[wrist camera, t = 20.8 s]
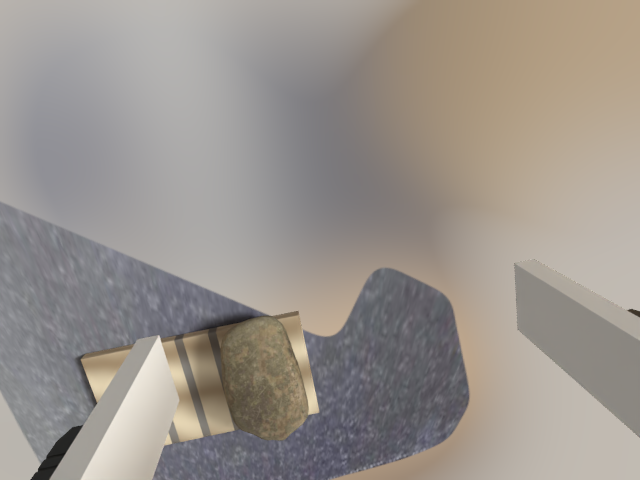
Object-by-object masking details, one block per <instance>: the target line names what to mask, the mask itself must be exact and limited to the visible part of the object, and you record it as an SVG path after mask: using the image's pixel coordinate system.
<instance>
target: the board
mask: <svg viewBox="0 0 640 480" xmlns="http://www.w3.org/2000/svg"><path fill="white" fill-rule="evenodd" d="M272 317H274V318H276V319H277V320H279V321H280V322H281V323H282V325H283V326H284V328H285V330H286V332H287V335H288V337H289V340H290V342H291V345H292V349H293V352H294V354H295V357H296V359H297V361H298V365H299V368H300V371H301V375H302V379H303V382H304V387H305V391H306V395H307V399H308V406H309V412H308V415H309V414H314V413H319V408H318V403H317V398H316V393H315V388H314V383H313V379H312V374H311V369H310V364H309V360H308V355H307V350H306V345H305V340H304V336H303V331H302V326H301V321H300V316H299V312H298V311H296V312H290V313H285V314H281V315H276V316H272ZM237 324H239V323H236V324H231V325H226V326H221V327H216V328H211V329H206V330H201V331H196V332H192V333H187V334H182V335H177V336H172V337H167V338H162V339H160V340H161V343H162V346H163V349H164V352H165V356H166V359H167V362H168V365H169V368H170V371H171V375H172V378H173V381H174V384H175V387H176V390H177V394H178V397H179V403H178V406H177V409H176V412H175V415H174V418H173V421H172V424H171V426H170V429H169V432H168V435H167V438H166V441H165V444H164V445H169V444H173V443H178V442H183V441H187V440H192V439H197V438H201V437H206V436H211V435H216V434H220V433H225V432H230V431H234V430H239V428H238V427H237V426H236V424H235V423H234V421H233V419H232V416H231V413H230V410H229V408H228V405H227V401H226V397H225V392H224V387H223V380H222V367H221V352H220V349H221V343H222V339H223V337H224V335H225V334H226V332H227V331H228V330H229V329H231V328H232V327H234V326H235V325H237ZM133 346H134V344H132V345H127V346H122V347H118V348H113V349H108V350H103V351H98V352H93V353H88V354H85V355H84V356H83V357H82V358H81V362H82V364H83V367H84V370H85V372H86V375H87V377H88V380H89V383H90V385H91V388H92V391H93V393H94V396H95V399H96V401H97V403H98V402H99V400H100V398H101V397H102V395H103V394H104V392H105V390H106V389H107V387H108V386H109V384H110V382H111V381H112V379H113V378H114V376H115V374H116V373H117V371H118V370H119V368H120V367H121V365H122V363H123V362H124V360H125V359H126V357H127V355H128V354H129V352H130V351H131V349H132V347H133Z"/></svg>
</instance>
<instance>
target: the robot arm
mask: <svg viewBox="0 0 640 480" xmlns="http://www.w3.org/2000/svg"><path fill="white" fill-rule="evenodd" d="M514 266H515V285H516V305H517V324H518V325H517V326H518V330H519V331H520V332H521V333H522V334H523V335H525V336H526V337H527V338H528V339H529V340H530V341H531V342H532V343H534V344H535V345H536V346H537V347H538V348H539V349H540V350H541V351H542V352H544V353H545V354H546V355H547V356H548V357H549V358H550V359H552V360H553V361H554V362H555V363H556V364H557V365H558V366H559V367H561V368H562V369H563V370H564V371H565V372H566V373H568V375H570V376H571V377H572V378H573V379H574V380H575V381H576V382H578V383H579V384H580V385H581V386H582V387H583V388H584V389H586V390H587V391H588V392H589V393H590V394H591V395H592V396H594V398H596V399H597V400H598V401H599V402H600V403H601V404H602V405H603V406H605V407H606V408H607V409H608V410H609V411H610V412H611V413H612V414H614V415H615V416H616V417H617V418H618V419H619V420H620V421H622V422H623V423H624V424H625V425H626V426H627V427H628V428H630V429H631V430H632V431H633V432H634V433H635V434H636V435H637V436H638V437H640V311H637V310H633V309H630V310H625V309H623V308H622V307H619V306H618V305H616V304H614V303H612V302H611V301H609V300H607V299H605V298H603V297H602V296H600V295H598V294H596V293H594V292H593V291H591V290H589V289H587V288H585V287H584V286H582V285H580V284H578V283H576V282H575V281H573V280H571V279H569V278H567V277H565V276H563V275H562V274H560V273H558V272H557V271H554V270H553V269H551V268H549V267H548V266H546V265H544V264H542V263H540V262H539V261H537V260H535V259H533V260H528V261H523V262H518V263H514ZM178 403H179V397H178V394H177V390H176V387H175V384H174V381H173V378H172V375H171V371H170V368H169V365H168V362H167V359H166V356H165V352H164V349H163V346H162V343H161V340H160V337H159V335H157V336H152V337H147V338H142V339H138V340H137V341H136V343H135V344H134V346H133V347H132V349H131V351H130V352H129V354H128V355H127V357H126V359H125V360H124V362H123V363H122V365H121V367H120V368H119V370H118V371H117V373H116V374H115V376H114V378H113V379H112V381H111V382H110V384H109V386H108V387H107V389H106V390H105V392H104V394H103V395H102V397H101V398H100V400H99V402H98V403H97V405H96V406H95V408H94V409H93V411H92V413H91V414H90V416H89V417H88V419H87V421H86V422H85V424H84V425H82V426H77V427H72V428H71V429H70V430H69V431H68V432H67V433H66V434H65V435H64V436H62V437H61V438H60V439H59V440H58V441H57V442H56V443H55V445H54V446H53V448H52V449H51V451H50V452H49V454H48V455H47V457H46V460H44V461H43V462H42V464H41V465H40V467H39V468H38V472H36V473H35V474H34V476H33V477H32V479H31V480H152V478H153V476H154V473H155V470H156V467H157V464H158V461H159V458H160V455H161V452H162V450H163V447H164V444H165V441H166V438H167V435H168V432H169V429H170V426H171V424H172V421H173V418H174V415H175V412H176V409H177V406H178Z"/></svg>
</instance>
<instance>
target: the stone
mask: <svg viewBox="0 0 640 480" xmlns="http://www.w3.org/2000/svg"><path fill="white" fill-rule="evenodd" d="M220 352H221V367H222V380H223V387H224V392H225V397H226V401H227V405H228V408H229V410H230V413H231V416H232V419H233V421H234V423H235V424H236V426H237V427H238V428H239V429H241V430H243V431H245V432H248V433H251V434H254V435H256V436H258V437H259V438H261V439H264V440H284V439H286V438H287V437H288V436H289V435H290V434H291V433H292V432H294V431H295V430H296V429H297V428H299V427H300V426H301V425H302V424H303V423H304V421H305V420H306V418H307V416H308V412H309V406H308V399H307V395H306V391H305V387H304V382H303V379H302V375H301V371H300V368H299V365H298V361H297V359H296V357H295V354H294V352H293V349H292V345H291V342H290V340H289V337H288V335H287V332H286V330H285V328H284V326H283V325H282V323H281V322H280V321H279V320H277V319H276V318H274V317H272V316H260V317H256V318H252V319H248V320H246V321H243V322H241V323H239V324H237V325H235V326H234V327H232V328H231V329H229V330H228V331H227V332H226V334H225V335H224V337H223V339H222V343H221V349H220Z"/></svg>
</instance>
